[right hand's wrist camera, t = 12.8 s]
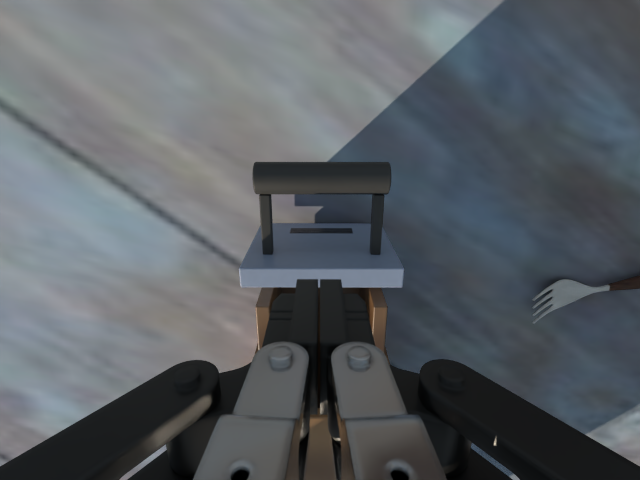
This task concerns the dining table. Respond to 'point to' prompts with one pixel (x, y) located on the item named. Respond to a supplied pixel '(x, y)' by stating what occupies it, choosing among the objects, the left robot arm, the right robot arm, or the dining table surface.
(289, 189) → the drawer
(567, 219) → the dining table surface
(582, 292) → the fork
